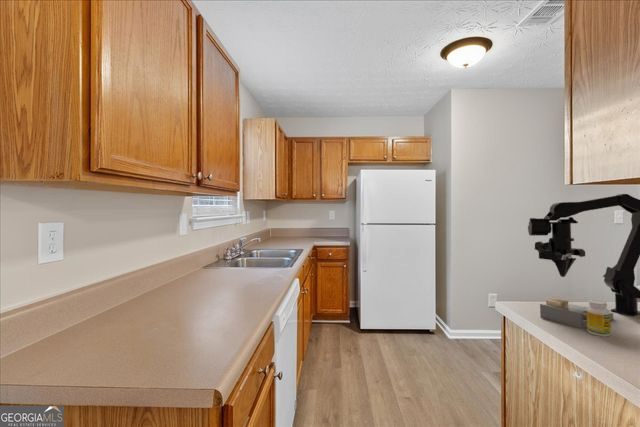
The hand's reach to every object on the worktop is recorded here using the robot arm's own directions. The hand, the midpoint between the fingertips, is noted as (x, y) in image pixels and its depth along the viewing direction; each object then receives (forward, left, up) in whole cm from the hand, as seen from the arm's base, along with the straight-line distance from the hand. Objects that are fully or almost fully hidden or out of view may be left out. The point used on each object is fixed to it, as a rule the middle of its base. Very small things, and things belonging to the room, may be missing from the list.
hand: (562, 276), depth 119 cm
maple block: (+13, +5, -10) cm, 17 cm away
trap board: (+8, +8, -12) cm, 17 cm away
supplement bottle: (+17, +19, -12) cm, 28 cm away
